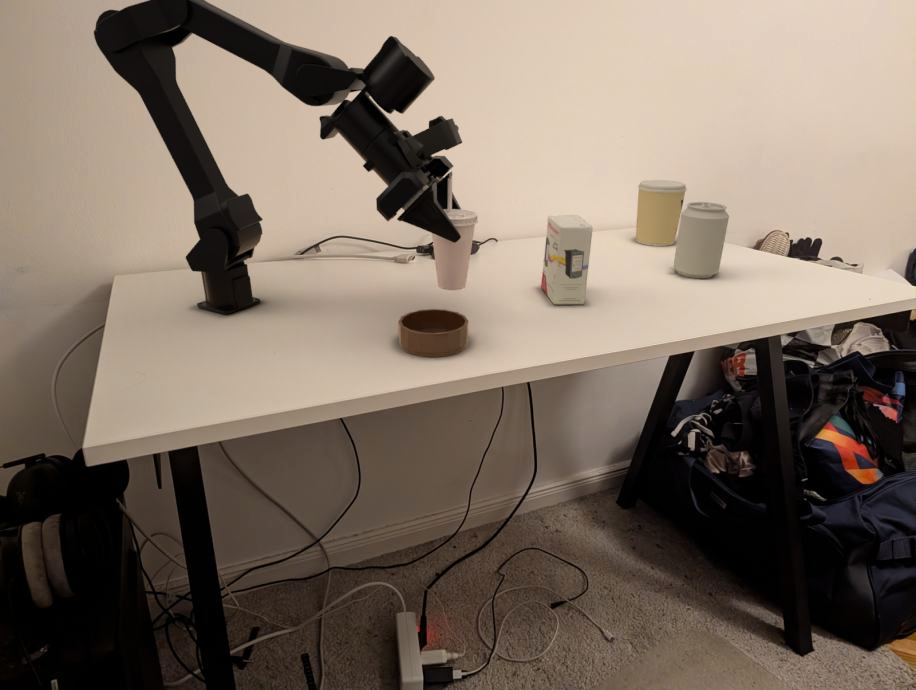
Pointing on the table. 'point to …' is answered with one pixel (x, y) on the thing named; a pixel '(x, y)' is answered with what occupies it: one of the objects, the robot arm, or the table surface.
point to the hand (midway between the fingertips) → (462, 234)
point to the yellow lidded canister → (659, 211)
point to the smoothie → (454, 248)
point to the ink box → (566, 259)
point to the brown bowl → (433, 332)
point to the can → (701, 239)
